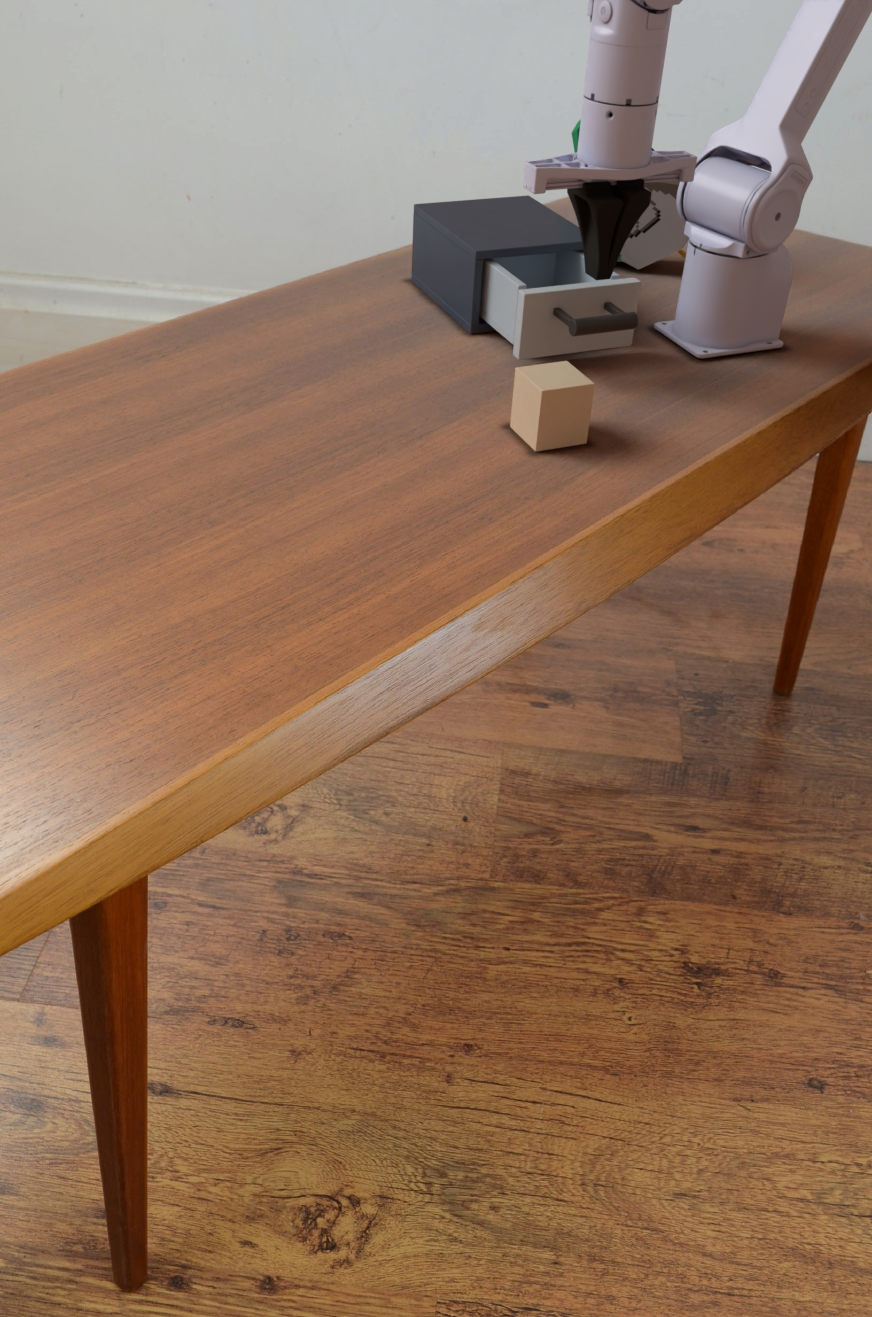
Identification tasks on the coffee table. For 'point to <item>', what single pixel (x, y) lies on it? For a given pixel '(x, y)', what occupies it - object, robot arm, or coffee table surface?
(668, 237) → the toy
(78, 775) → the coffee table surface
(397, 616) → the coffee table surface
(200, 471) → the coffee table surface
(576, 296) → the drawer
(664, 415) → the coffee table surface
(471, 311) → the cabinet
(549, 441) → the block
